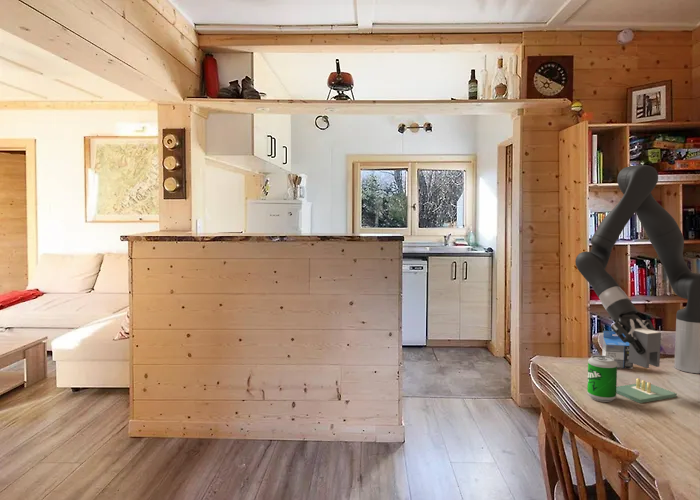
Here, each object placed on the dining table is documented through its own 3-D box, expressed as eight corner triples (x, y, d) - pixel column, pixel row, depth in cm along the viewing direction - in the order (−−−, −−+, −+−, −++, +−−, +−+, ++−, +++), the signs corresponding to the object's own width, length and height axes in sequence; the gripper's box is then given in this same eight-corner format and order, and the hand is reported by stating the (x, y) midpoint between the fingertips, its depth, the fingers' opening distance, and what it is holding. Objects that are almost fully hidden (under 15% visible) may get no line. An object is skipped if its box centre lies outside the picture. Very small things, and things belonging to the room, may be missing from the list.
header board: (646, 385, 148) (646, 372, 148) (676, 396, 139) (677, 383, 138) (610, 390, 144) (611, 377, 144) (639, 403, 135) (640, 389, 134)
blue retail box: (605, 367, 165) (606, 333, 164) (601, 364, 169) (602, 330, 168) (633, 369, 163) (634, 334, 162) (629, 365, 167) (630, 331, 166)
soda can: (613, 394, 141) (614, 355, 140) (618, 404, 134) (619, 363, 133) (585, 392, 143) (586, 353, 142) (589, 401, 136) (590, 360, 135)
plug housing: (641, 360, 144) (642, 327, 143) (659, 366, 139) (661, 332, 138) (628, 361, 143) (630, 328, 142) (646, 368, 137) (647, 333, 136)
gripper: (606, 298, 144) (639, 348, 134) (642, 296, 148) (677, 343, 138) (592, 312, 150) (623, 360, 139) (627, 309, 154) (659, 356, 143)
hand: (649, 352), depth 139 cm, fingers closed on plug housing, 5 cm apart
